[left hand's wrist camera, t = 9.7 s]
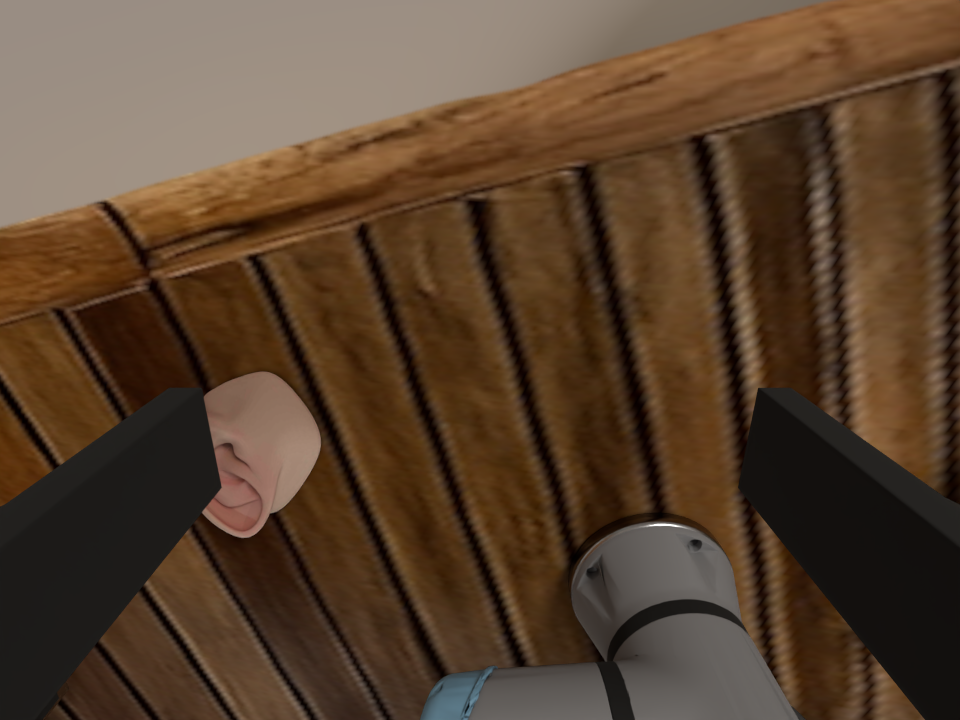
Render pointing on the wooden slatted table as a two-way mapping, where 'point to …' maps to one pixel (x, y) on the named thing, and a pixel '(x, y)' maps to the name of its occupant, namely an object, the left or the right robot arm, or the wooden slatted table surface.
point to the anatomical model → (258, 449)
